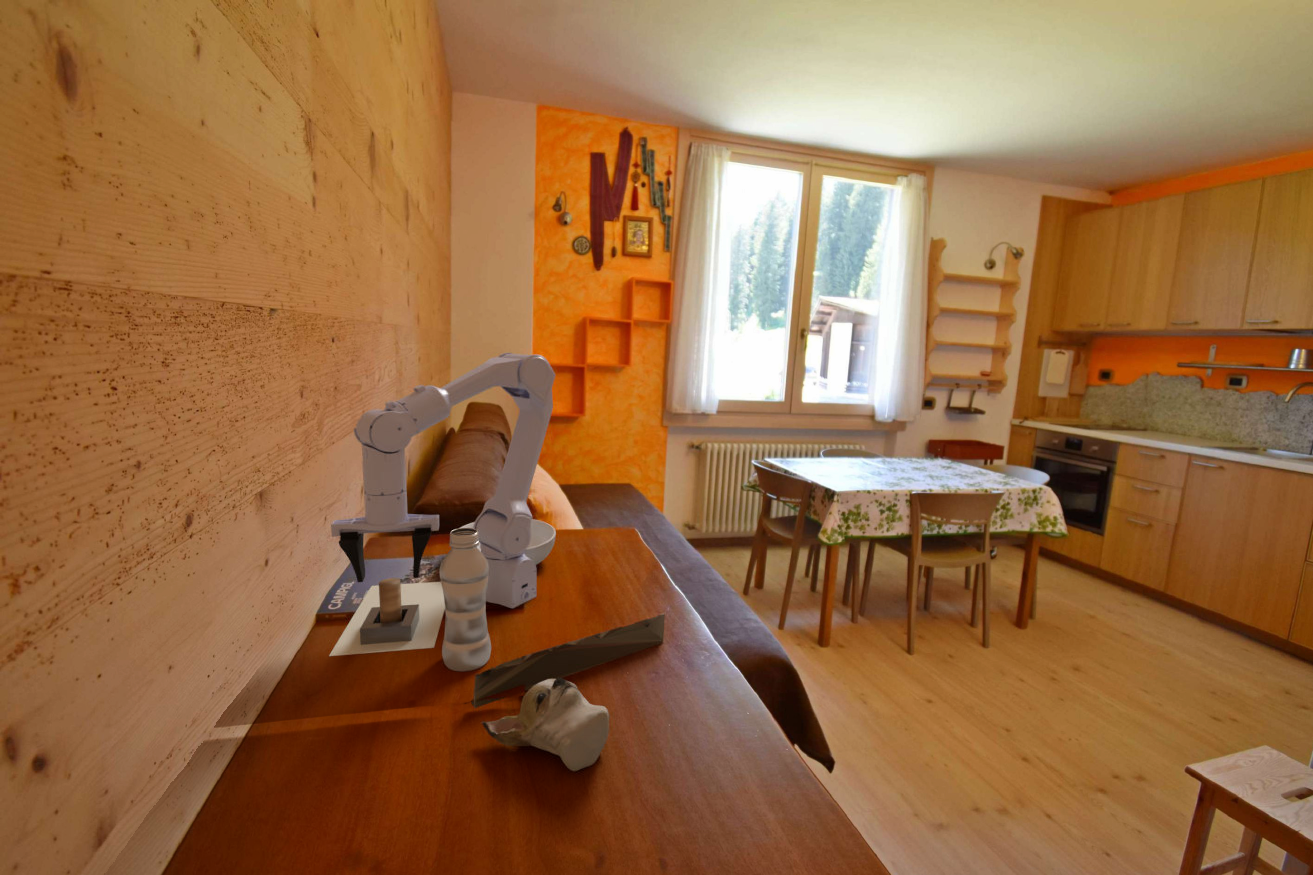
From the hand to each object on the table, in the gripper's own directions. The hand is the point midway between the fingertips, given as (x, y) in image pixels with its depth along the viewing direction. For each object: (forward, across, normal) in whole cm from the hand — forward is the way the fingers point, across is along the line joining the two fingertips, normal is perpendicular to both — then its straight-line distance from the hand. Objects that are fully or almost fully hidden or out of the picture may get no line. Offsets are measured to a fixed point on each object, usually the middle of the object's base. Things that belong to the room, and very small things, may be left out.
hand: (389, 577), depth 87 cm
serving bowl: (+10, -18, -27) cm, 34 cm away
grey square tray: (+9, 0, 0) cm, 9 cm away
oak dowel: (+9, 0, 0) cm, 9 cm away
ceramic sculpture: (+10, -21, +30) cm, 38 cm away
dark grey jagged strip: (+10, -26, +16) cm, 32 cm away
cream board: (+10, 0, -6) cm, 11 cm away
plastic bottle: (+10, -11, +11) cm, 19 cm away
